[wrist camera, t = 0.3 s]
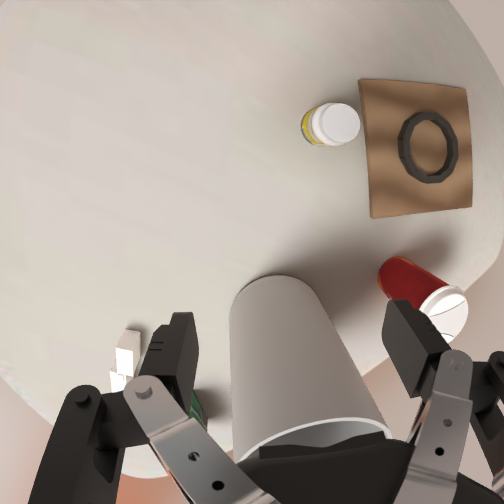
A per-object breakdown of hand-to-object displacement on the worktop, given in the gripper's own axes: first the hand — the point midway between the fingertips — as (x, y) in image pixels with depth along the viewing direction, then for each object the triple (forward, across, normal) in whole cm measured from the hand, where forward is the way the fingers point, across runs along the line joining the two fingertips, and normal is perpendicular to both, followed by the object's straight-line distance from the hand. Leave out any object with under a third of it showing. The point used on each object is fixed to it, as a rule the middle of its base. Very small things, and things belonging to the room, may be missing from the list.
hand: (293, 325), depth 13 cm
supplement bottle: (+29, -7, -7) cm, 30 cm away
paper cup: (+28, -19, +14) cm, 36 cm away
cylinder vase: (+26, -1, +18) cm, 32 cm away
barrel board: (+29, -22, -5) cm, 37 cm away
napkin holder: (+25, +20, +24) cm, 40 cm away
